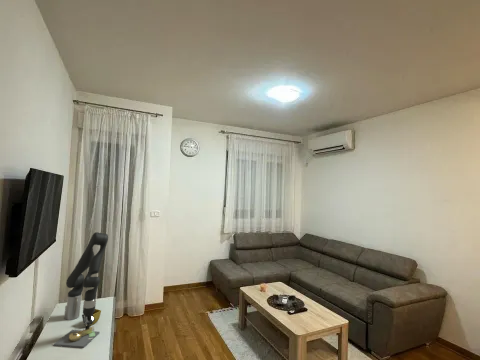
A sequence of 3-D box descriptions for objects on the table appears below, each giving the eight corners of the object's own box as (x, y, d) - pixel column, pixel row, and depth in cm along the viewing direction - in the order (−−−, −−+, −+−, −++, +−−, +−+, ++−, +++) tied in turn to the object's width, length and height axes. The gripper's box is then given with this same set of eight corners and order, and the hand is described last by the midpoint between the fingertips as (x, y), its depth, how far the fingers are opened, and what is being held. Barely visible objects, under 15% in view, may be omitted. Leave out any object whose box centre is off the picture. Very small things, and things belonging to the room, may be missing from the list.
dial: (71, 343, 159) (71, 337, 159) (67, 339, 163) (67, 332, 163) (95, 333, 171) (96, 327, 171) (91, 330, 175) (91, 324, 175)
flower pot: (100, 322, 188) (101, 310, 189) (90, 327, 180) (91, 315, 181) (92, 319, 191) (93, 308, 192) (81, 325, 183) (83, 312, 184)
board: (53, 345, 157) (53, 343, 157) (73, 330, 175) (73, 328, 175) (85, 348, 157) (85, 345, 157) (101, 332, 175) (101, 330, 175)
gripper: (78, 304, 173) (76, 329, 172) (89, 310, 166) (86, 336, 166) (89, 300, 179) (87, 324, 179) (100, 306, 173) (97, 330, 172)
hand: (87, 329), depth 172 cm, fingers closed
